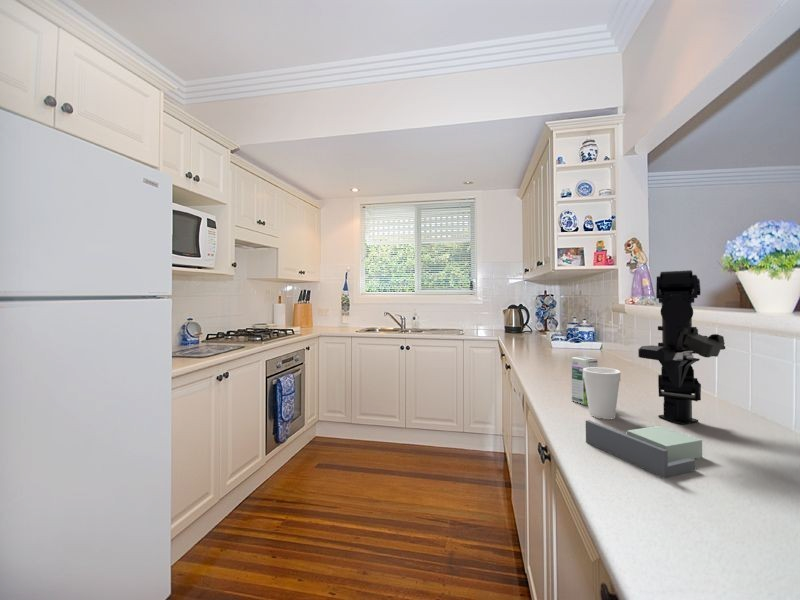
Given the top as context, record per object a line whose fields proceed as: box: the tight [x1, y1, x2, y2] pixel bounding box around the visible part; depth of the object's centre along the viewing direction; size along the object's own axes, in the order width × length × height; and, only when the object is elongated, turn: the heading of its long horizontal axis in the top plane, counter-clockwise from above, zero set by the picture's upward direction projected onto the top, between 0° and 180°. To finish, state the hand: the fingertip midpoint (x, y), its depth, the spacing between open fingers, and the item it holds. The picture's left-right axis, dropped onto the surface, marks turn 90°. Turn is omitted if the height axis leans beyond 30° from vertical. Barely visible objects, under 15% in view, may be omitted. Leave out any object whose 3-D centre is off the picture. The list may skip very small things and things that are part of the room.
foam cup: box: [583, 366, 621, 420], centre depth 102 cm, size 10×9×13 cm
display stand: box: [585, 419, 696, 479], centre depth 76 cm, size 8×18×5 cm, turn 18°
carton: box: [626, 425, 703, 463], centre depth 77 cm, size 10×9×4 cm
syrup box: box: [570, 356, 599, 406], centre depth 115 cm, size 6×6×14 cm
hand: (677, 386), depth 86 cm, fingers closed
